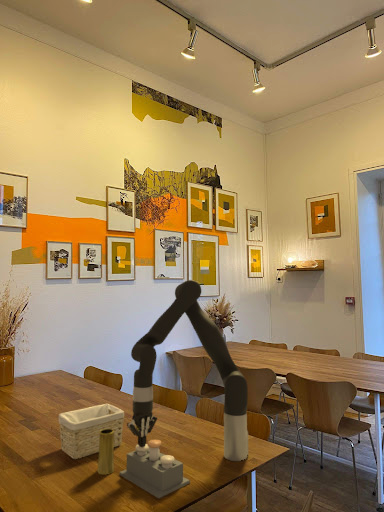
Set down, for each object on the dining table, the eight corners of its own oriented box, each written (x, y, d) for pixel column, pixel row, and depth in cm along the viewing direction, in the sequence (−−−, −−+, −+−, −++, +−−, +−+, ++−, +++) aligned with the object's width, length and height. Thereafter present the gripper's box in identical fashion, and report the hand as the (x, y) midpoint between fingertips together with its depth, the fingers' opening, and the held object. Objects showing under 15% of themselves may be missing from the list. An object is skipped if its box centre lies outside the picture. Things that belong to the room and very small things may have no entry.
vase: (115, 467, 143) (116, 428, 144) (112, 475, 137) (113, 434, 138) (99, 467, 142) (100, 428, 144) (95, 475, 136) (96, 434, 138)
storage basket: (71, 462, 147) (72, 423, 148) (55, 449, 159) (57, 413, 160) (125, 446, 162) (126, 410, 164) (107, 435, 174) (107, 402, 176)
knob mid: (155, 461, 138) (155, 438, 138) (163, 465, 134) (163, 442, 135) (144, 465, 134) (144, 442, 135) (153, 470, 131) (153, 446, 132)
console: (149, 462, 147) (150, 443, 147) (189, 483, 131) (189, 462, 132) (119, 474, 137) (120, 454, 137) (158, 498, 121) (159, 475, 122)
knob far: (143, 464, 142) (143, 442, 143) (151, 468, 139) (151, 446, 140) (132, 468, 139) (133, 446, 140) (140, 473, 136) (141, 450, 136)
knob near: (167, 477, 132) (167, 453, 133) (176, 482, 129) (177, 458, 130) (157, 482, 129) (157, 458, 130) (166, 487, 126) (166, 462, 126)
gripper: (150, 392, 149) (149, 438, 147) (122, 399, 139) (121, 448, 138) (162, 396, 143) (162, 444, 142) (134, 403, 134) (133, 454, 133)
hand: (142, 446), depth 140 cm, fingers closed
